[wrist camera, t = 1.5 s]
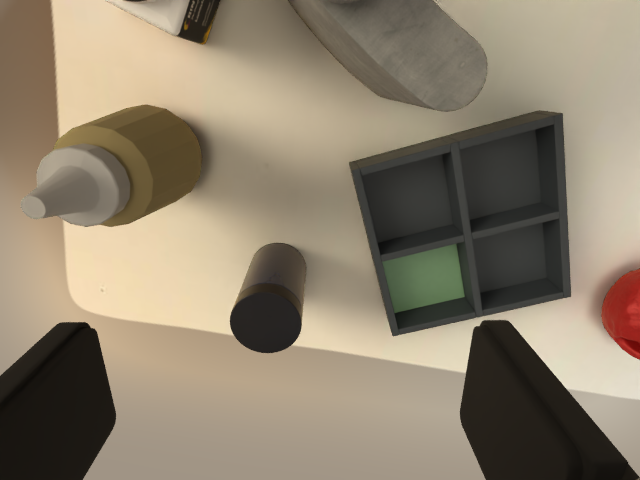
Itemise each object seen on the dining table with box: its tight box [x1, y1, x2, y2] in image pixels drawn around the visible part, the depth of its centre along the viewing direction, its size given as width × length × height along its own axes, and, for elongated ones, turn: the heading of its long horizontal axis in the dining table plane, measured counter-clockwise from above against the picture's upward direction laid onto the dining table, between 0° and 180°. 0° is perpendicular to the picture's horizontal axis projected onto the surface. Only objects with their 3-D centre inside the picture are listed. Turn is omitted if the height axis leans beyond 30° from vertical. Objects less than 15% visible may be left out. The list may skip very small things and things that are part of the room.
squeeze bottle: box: [21, 105, 202, 227], centre depth 27 cm, size 8×8×18 cm
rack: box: [349, 110, 571, 336], centre depth 36 cm, size 17×17×4 cm
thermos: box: [230, 243, 306, 353], centre depth 35 cm, size 6×6×10 cm
